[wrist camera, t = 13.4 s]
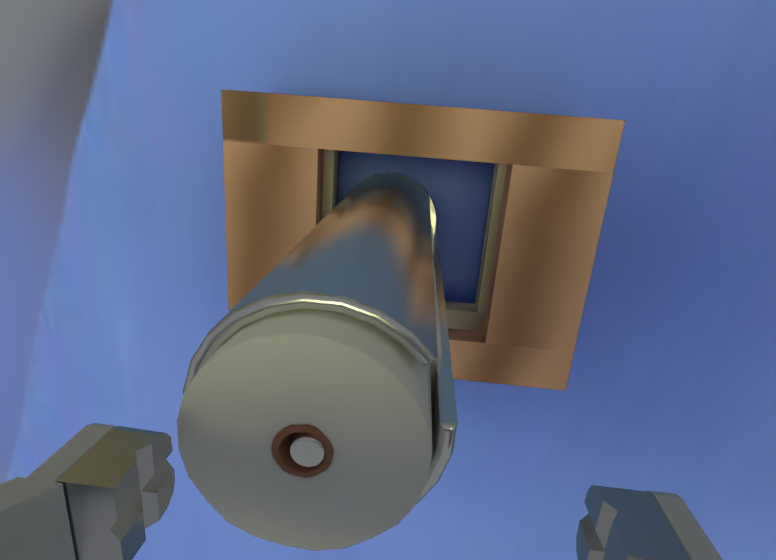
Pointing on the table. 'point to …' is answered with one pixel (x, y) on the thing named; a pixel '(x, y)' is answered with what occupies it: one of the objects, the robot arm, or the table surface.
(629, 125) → the table surface
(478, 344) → the frame
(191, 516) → the table surface
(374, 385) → the silver metal cylinder
